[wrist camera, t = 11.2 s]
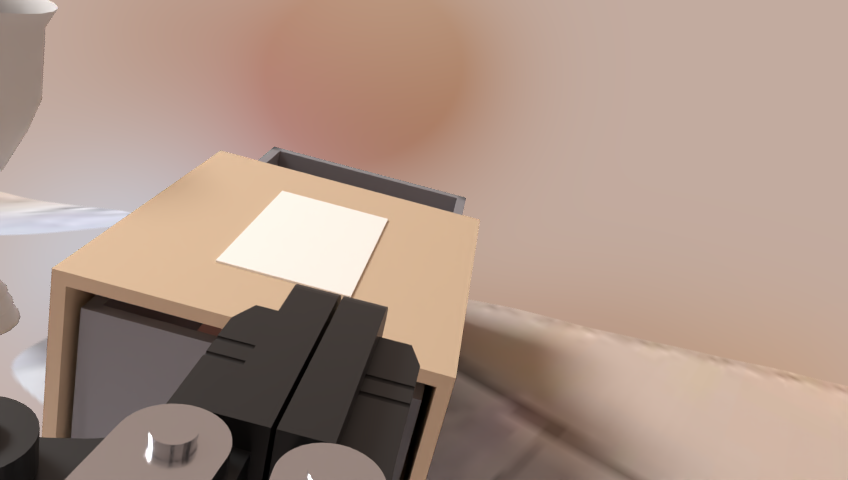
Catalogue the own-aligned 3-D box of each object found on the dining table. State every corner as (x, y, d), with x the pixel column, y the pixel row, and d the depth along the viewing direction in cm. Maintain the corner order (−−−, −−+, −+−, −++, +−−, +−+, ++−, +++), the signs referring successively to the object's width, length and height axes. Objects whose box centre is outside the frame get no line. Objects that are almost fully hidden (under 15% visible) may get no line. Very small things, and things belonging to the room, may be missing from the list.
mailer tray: (376, 559, 34) (421, 400, 31) (67, 473, 34) (81, 307, 31) (437, 301, 58) (466, 197, 55) (256, 252, 58) (274, 146, 55)
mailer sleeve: (392, 590, 34) (456, 376, 29) (38, 491, 34) (52, 265, 30) (435, 374, 50) (480, 218, 46) (197, 309, 51) (220, 148, 46)
